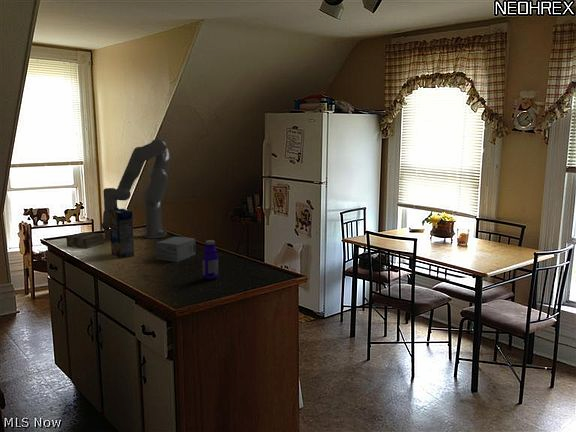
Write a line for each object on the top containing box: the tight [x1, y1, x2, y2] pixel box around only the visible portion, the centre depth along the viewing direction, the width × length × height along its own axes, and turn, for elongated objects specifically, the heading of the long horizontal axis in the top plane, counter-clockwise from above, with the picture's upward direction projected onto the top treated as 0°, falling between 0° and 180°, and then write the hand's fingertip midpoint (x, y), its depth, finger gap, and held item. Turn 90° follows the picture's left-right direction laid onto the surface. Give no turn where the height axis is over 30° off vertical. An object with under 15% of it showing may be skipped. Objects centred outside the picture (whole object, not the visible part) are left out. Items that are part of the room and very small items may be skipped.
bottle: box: [201, 239, 219, 280], centre depth 235 cm, size 7×6×17 cm
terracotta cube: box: [104, 228, 111, 242], centre depth 314 cm, size 6×6×6 cm
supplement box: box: [155, 236, 196, 263], centre depth 273 cm, size 17×13×9 cm
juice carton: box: [109, 208, 135, 259], centre depth 275 cm, size 12×8×24 cm, turn 40°
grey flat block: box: [65, 231, 105, 249], centre depth 299 cm, size 14×14×6 cm
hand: (112, 238), depth 314 cm, fingers closed on terracotta cube, 6 cm apart
